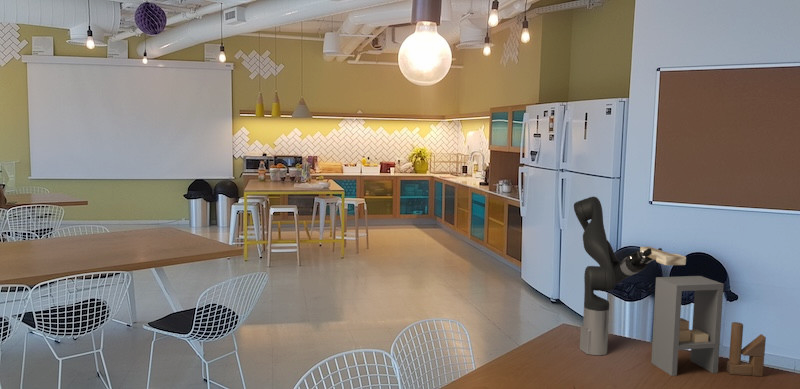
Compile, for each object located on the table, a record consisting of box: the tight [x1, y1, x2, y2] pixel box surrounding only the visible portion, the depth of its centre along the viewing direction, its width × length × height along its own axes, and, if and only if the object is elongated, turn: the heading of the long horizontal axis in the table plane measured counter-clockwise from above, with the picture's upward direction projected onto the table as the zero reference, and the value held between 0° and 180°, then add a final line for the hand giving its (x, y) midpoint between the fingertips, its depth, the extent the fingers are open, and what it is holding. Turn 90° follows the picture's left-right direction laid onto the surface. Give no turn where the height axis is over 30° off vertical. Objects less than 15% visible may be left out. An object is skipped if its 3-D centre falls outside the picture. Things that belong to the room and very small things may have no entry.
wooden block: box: [726, 321, 767, 377], centre depth 210 cm, size 4×11×18 cm, turn 82°
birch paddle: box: [639, 246, 687, 266], centre depth 229 cm, size 8×20×3 cm, turn 10°
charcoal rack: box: [650, 275, 725, 377], centre depth 214 cm, size 18×12×32 cm, turn 100°
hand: (655, 250), depth 231 cm, fingers closed on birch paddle, 4 cm apart
